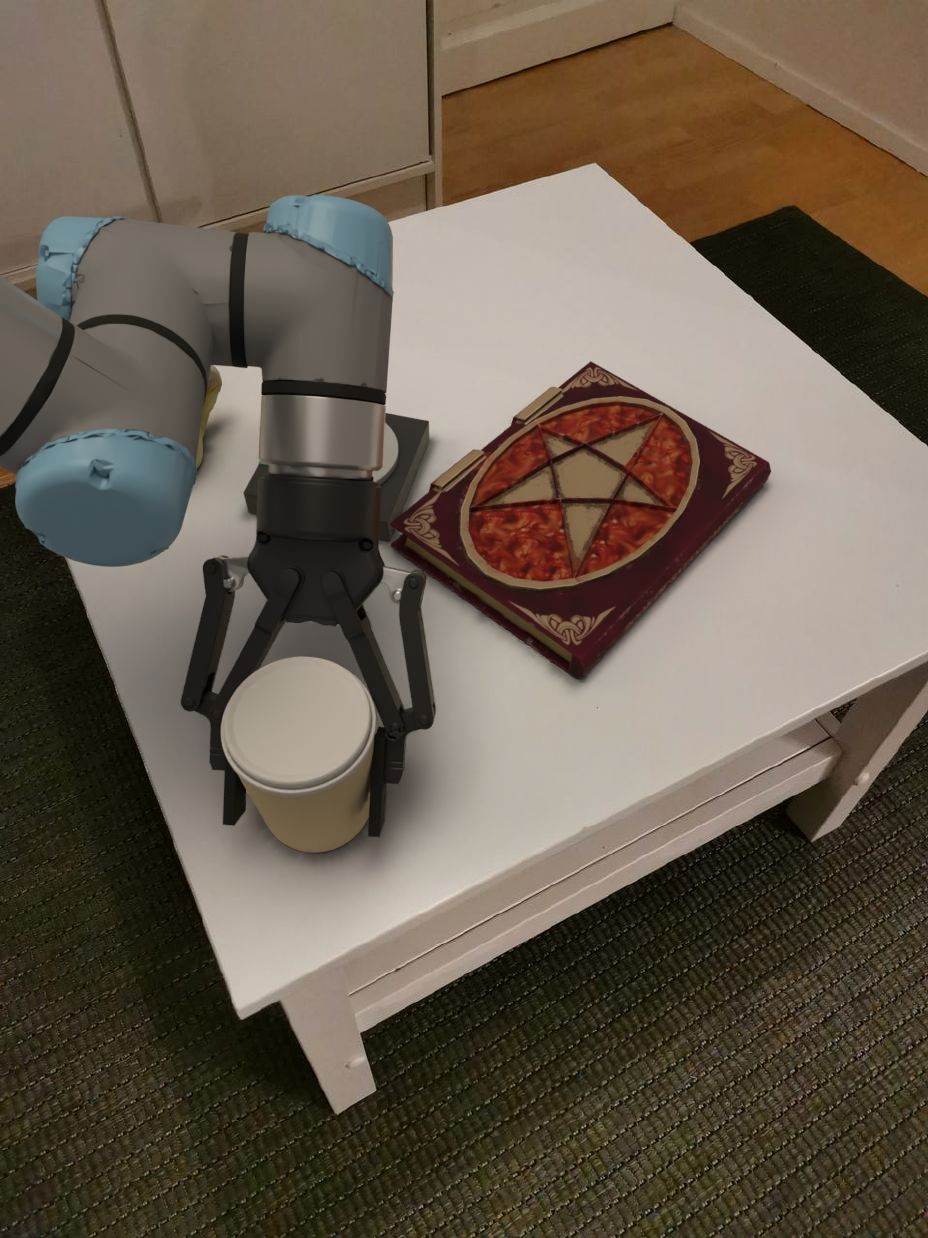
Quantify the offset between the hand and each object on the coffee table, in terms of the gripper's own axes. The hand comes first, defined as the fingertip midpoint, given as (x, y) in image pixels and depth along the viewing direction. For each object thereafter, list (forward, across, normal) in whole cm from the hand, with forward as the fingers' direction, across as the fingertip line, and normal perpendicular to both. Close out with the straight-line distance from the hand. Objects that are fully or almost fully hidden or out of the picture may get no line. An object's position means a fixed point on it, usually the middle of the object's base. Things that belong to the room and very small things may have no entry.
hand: (305, 823), depth 60 cm
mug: (-23, +19, -29) cm, 42 cm away
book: (-20, -18, -26) cm, 38 cm away
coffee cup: (0, 0, -5) cm, 5 cm away
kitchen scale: (-22, +3, -28) cm, 36 cm away
